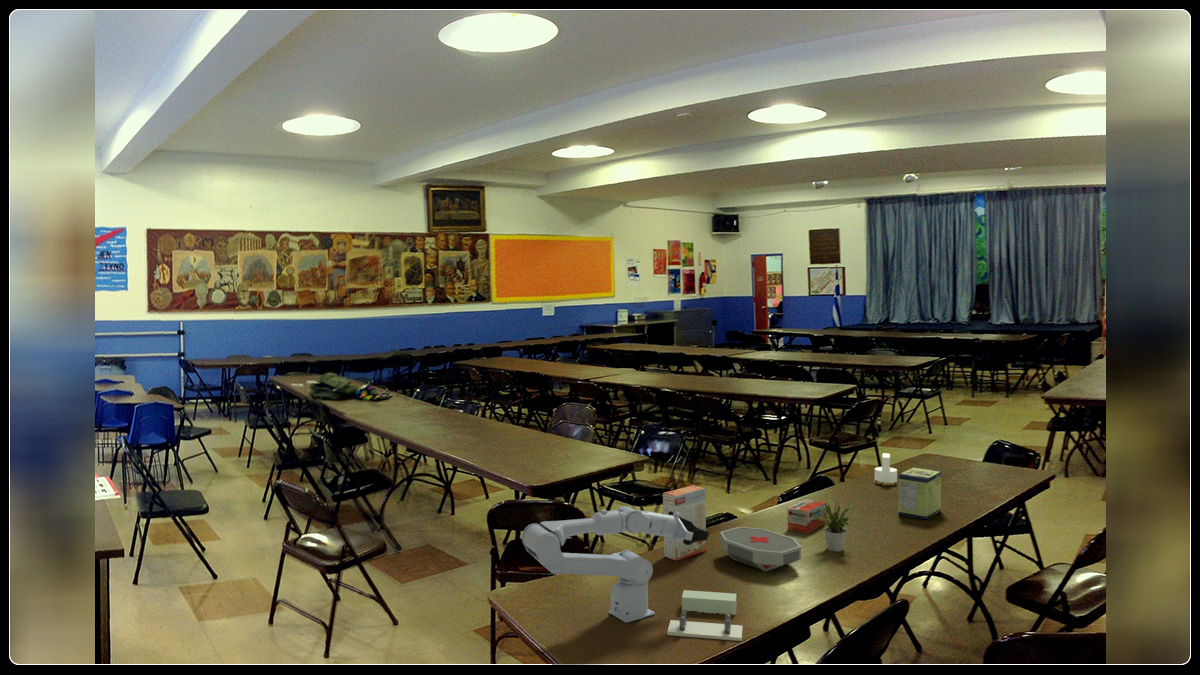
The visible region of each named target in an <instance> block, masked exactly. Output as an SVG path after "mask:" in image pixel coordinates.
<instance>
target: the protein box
mask: <svg viewBox="0 0 1200 675" xmlns="http://www.w3.org/2000/svg"><path fill="white" fill-rule="evenodd" d="M941 507H942V471H940V470H935V469H927V468H921V467H915V466H914V467H912V468H910V469H907V470H905V471H903V472H901V473H899V474H898V514H897V515H898V516H899V515H904V516H909V517H908V518H910V517H915V518H914V519H916V518H921V519H928V518H929V517H930V516H932V515H934V514H935V513H936V512H938V511H939V510H940V509H942V508H941ZM904 516H903V517H904ZM934 516H935V515H934ZM921 519H920V520H921ZM929 519H930V518H929ZM929 519H928V520H929Z"/></svg>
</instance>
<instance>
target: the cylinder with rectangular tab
mask: <svg viewBox="0 0 1200 675" xmlns="http://www.w3.org/2000/svg"><path fill="white" fill-rule="evenodd" d="M890 465H891V453H888V452H887V453H885V452H883V453H882V456H881V466H877V467H875V468H874V481H875V480H877V481H879V482H884V483H894V482H897V483H898V469H897V468H894V467H890Z"/></svg>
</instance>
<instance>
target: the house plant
mask: <svg viewBox="0 0 1200 675" xmlns="http://www.w3.org/2000/svg"><path fill="white" fill-rule="evenodd" d="M812 502H813V501H812ZM823 502H824V503H825V502H826V501H823ZM816 503H817V502H816ZM819 505H820V504H819ZM824 505H825V507H826V509H825V508H823V507H822V506H821V505H820V506H821V507H822V508H823V510H824V511H826V514H825V513H824V512H823V511H822V510H820V511H822V512H823V514H824V515H825V516H826V519H825V518H824V517H822V516H820V517H818V518H820V519H823V521H824V522H825V521H826V522H825V524H824V526H825V527H824V529H823V532H824V538H825V544H826V549H827V550H828V551H831V552H837V553H838V552H843V551H845V550H844V548H845V543H846V538H847V532H848V530H847V529H846V528H845V526H848V527H849V528H851V523H849V521H850V518H849V517H845V515H846V514H847V513H848V512H849V511H850V510H851V511H852V510H854V509H850V508H851V507H853V506H854V505H855V503H853V504H850V505H848V506H847V507H846V508H845V509H844V510H843V511H842V513H841V515H840V512H841V507H842V506H843V504H840V503H839V498H838V499H837V500H836V503H835V505H834V512H833V513H832V510H831V506H830V504H829V502H826V503H825V504H824ZM839 516H840V517H839Z"/></svg>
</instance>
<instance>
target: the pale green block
mask: <svg viewBox="0 0 1200 675" xmlns="http://www.w3.org/2000/svg"><path fill="white" fill-rule="evenodd" d="M682 610H687V611H686V612H689V611H697V612H696V613H702V612H704V614H705V613H707V614H716V613H719V615H726V614H731V616H736V614H737V593H730V592H716V591H715V592H714V591H703V590H702V591H701V590H689V589H688V590H687V589H683V592H682V595H681V611H682Z"/></svg>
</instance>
